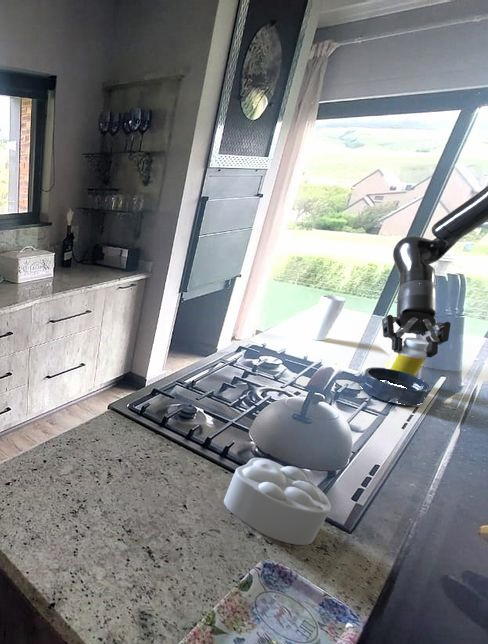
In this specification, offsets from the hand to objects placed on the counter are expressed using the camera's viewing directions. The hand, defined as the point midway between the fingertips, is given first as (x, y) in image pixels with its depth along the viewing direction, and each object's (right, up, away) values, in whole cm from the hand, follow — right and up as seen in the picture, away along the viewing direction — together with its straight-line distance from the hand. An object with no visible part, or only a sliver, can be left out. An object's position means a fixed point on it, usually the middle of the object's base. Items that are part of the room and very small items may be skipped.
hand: (414, 353), depth 110 cm
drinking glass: (+1, +7, +35) cm, 35 cm away
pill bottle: (0, -7, +5) cm, 9 cm away
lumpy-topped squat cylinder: (-67, -30, -40) cm, 84 cm away
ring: (-8, -11, -1) cm, 14 cm away
